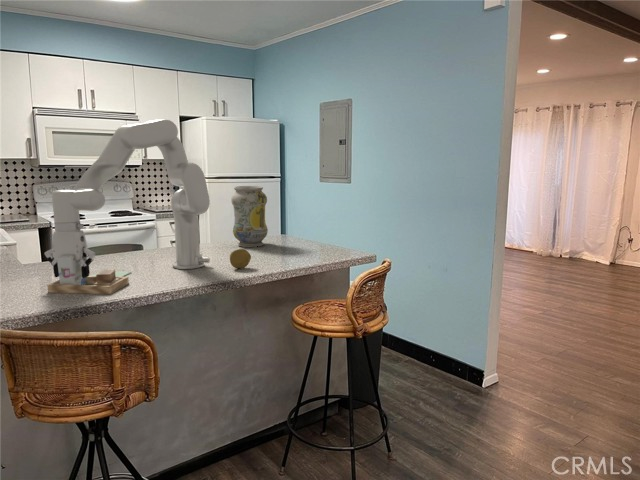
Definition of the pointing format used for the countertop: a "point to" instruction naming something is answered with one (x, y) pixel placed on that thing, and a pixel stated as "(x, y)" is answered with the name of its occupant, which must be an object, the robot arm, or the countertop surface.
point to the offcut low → (106, 283)
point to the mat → (118, 273)
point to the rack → (88, 286)
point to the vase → (249, 215)
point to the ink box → (70, 271)
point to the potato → (240, 258)
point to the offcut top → (106, 276)
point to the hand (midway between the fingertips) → (72, 276)
